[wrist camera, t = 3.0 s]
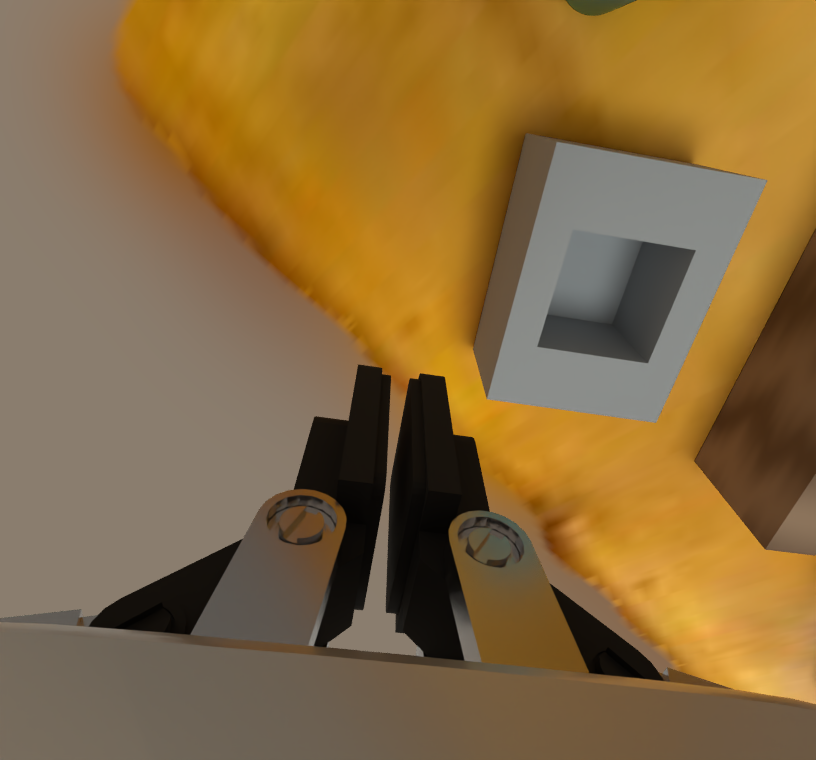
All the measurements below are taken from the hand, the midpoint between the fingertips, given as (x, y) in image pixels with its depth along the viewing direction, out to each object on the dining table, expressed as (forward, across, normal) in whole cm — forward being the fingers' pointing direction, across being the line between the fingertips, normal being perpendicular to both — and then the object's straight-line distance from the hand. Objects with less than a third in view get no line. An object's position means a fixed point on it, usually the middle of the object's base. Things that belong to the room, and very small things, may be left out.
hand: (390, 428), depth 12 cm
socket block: (+19, -10, 0) cm, 21 cm away
